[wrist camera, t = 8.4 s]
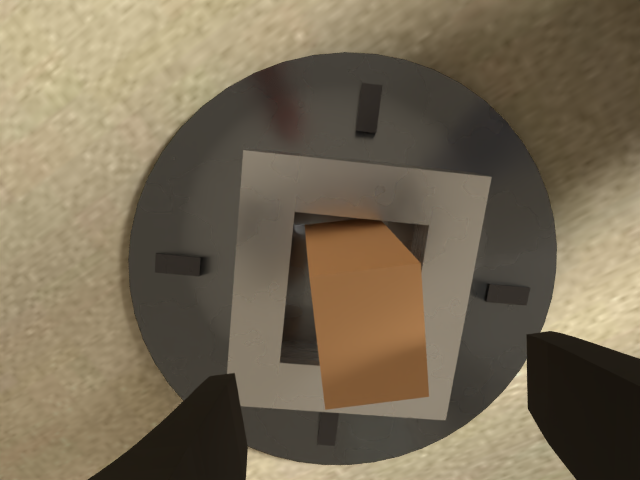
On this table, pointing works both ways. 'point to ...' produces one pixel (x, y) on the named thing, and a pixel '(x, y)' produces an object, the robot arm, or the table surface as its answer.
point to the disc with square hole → (336, 205)
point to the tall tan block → (366, 313)
